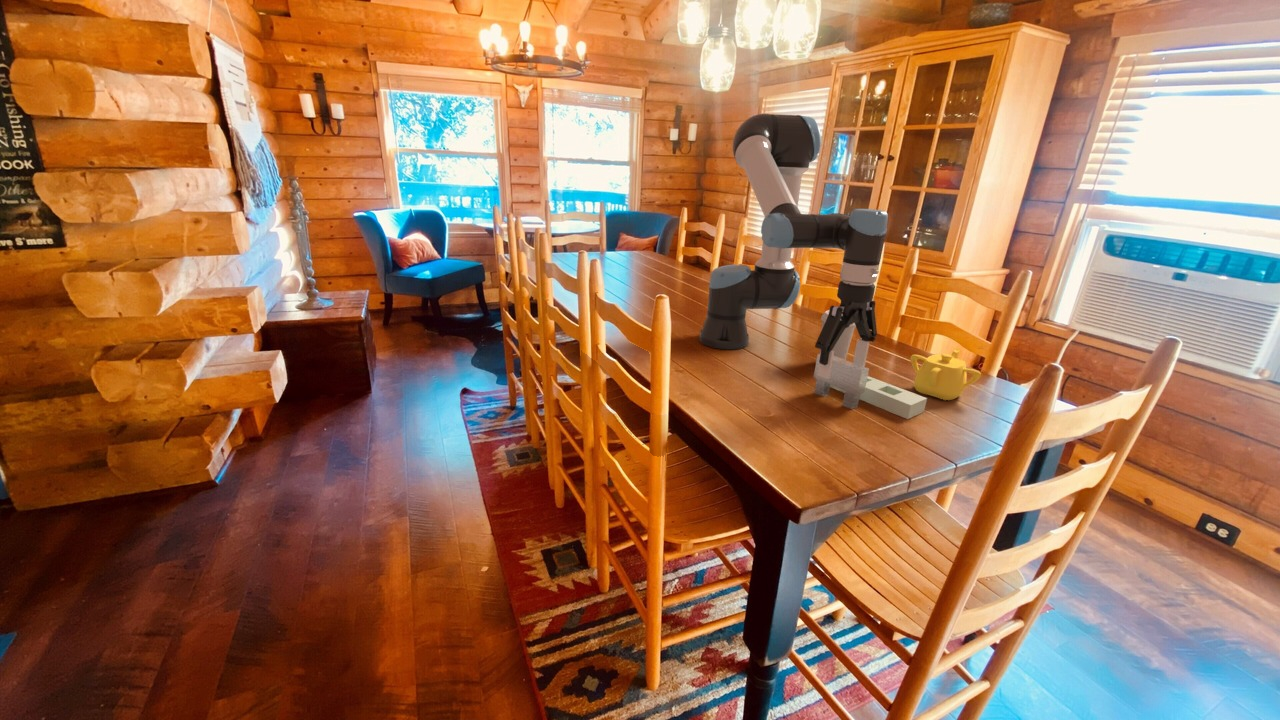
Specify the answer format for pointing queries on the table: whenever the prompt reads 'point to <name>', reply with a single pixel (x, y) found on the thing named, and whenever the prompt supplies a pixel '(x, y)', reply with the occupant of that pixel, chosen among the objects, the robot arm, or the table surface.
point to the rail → (891, 398)
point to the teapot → (942, 375)
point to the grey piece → (843, 380)
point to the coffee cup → (840, 339)
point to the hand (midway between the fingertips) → (841, 371)
